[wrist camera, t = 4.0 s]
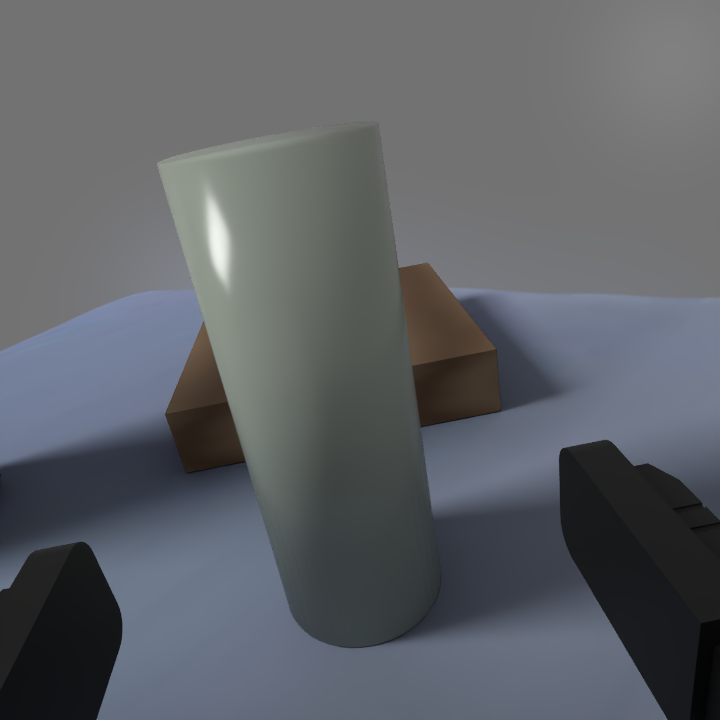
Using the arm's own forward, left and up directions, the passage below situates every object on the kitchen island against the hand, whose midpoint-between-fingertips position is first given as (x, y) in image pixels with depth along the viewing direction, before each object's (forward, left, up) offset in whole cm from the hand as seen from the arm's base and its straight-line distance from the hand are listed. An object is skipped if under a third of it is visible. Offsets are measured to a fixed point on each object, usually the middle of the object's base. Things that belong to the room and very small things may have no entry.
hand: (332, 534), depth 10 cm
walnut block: (0, +21, -7) cm, 22 cm away
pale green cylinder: (0, +6, -7) cm, 9 cm away
